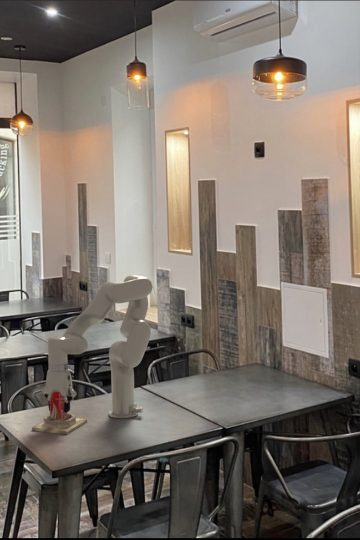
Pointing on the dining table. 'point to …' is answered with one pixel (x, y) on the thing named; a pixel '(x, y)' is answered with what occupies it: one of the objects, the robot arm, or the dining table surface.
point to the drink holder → (60, 424)
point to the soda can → (57, 406)
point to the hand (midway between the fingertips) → (59, 410)
